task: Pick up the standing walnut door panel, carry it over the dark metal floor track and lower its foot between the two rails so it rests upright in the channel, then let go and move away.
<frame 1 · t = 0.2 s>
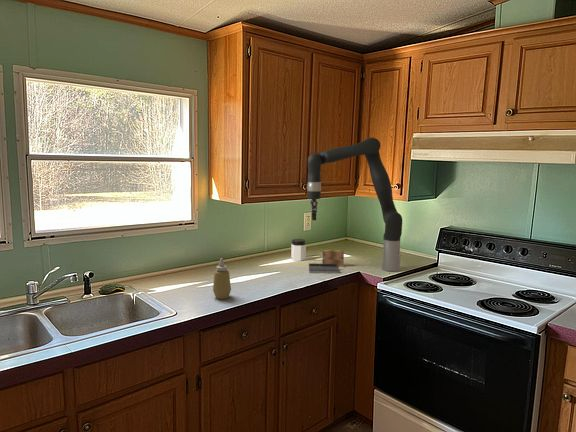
hand: (313, 219, 237), 28 cm above the counter, tool pointing down, fingers open, 8 cm apart
door panel: (332, 265, 247), on the counter
floor track: (323, 270, 236), on the counter
jar: (298, 259, 261), on the counter
squeeze bottle: (222, 297, 192), on the counter
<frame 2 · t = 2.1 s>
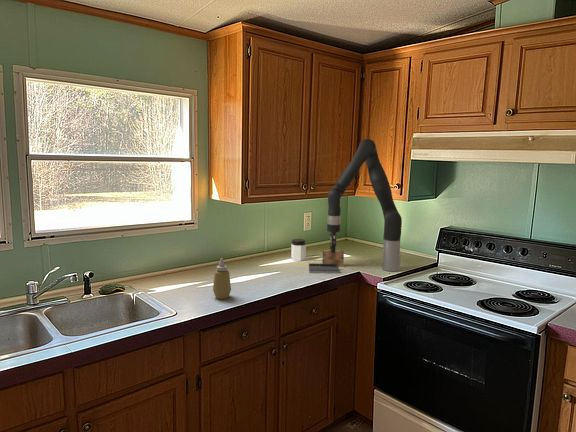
hand: (332, 250, 246), 9 cm above the counter, tool pointing down, fingers open, 8 cm apart
nothing on the counter moved.
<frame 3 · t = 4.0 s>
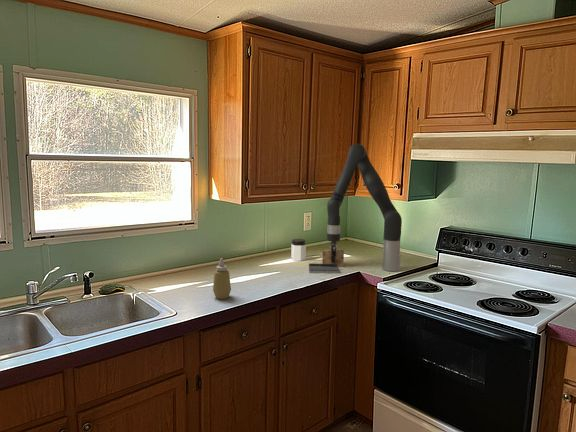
hand: (332, 261, 246), 3 cm above the counter, tool pointing down, fingers closed on door panel, 3 cm apart
door panel: (332, 265, 247), on the counter, touching gripper
everything else where it was.
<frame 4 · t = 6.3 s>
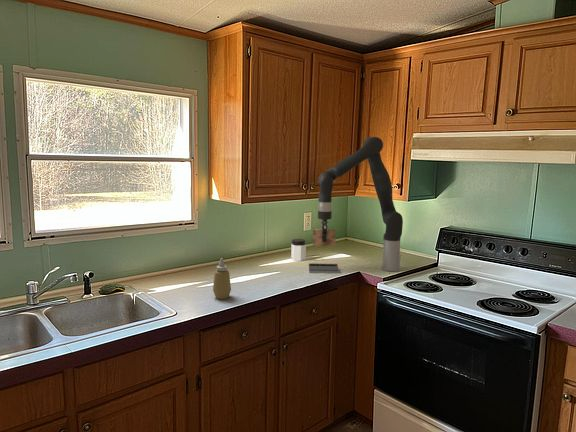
hand: (324, 241, 234), 17 cm above the counter, tool pointing down, fingers closed on door panel, 3 cm apart
door panel: (323, 245, 234), point 14 cm above the counter, touching gripper
everything else where it was.
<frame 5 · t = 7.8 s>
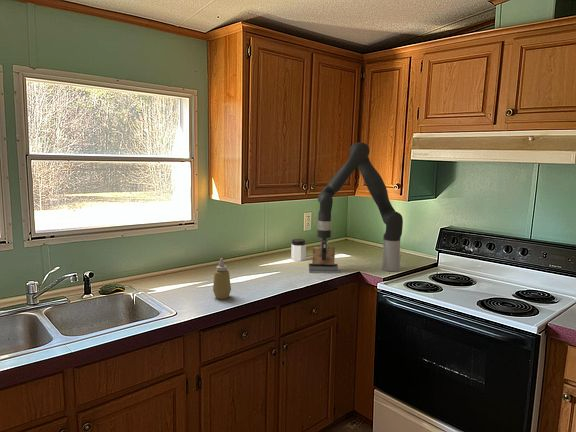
hand: (323, 259, 235), 7 cm above the counter, tool pointing down, fingers closed on door panel, 3 cm apart
door panel: (323, 263, 236), point 4 cm above the counter, touching gripper
everything else where it was.
when the fingers open (5 cm above the counter, at t = 8.8 s): door panel drops 1 cm, resting on floor track.
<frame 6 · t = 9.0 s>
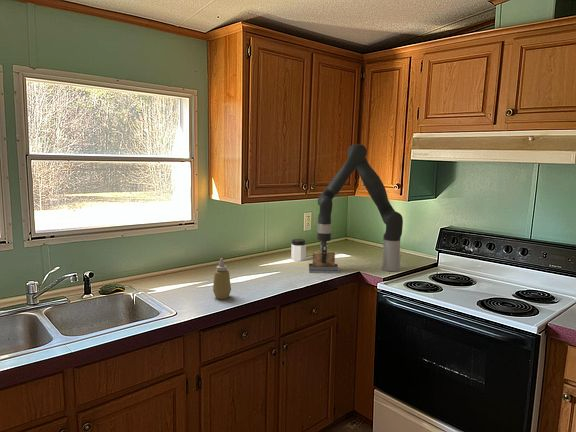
hand: (323, 261, 235), 5 cm above the counter, tool pointing down, fingers open, 4 cm apart
door panel: (323, 268, 236), point 1 cm above the counter, touching floor track
everything else where it was.
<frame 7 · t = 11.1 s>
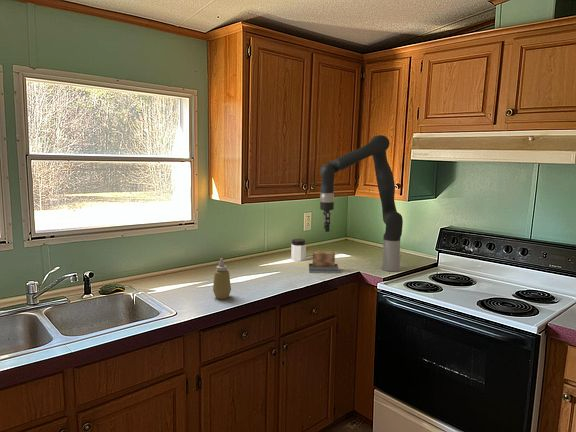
hand: (326, 230, 234), 23 cm above the counter, tool pointing down, fingers open, 8 cm apart
nothing on the counter moved.
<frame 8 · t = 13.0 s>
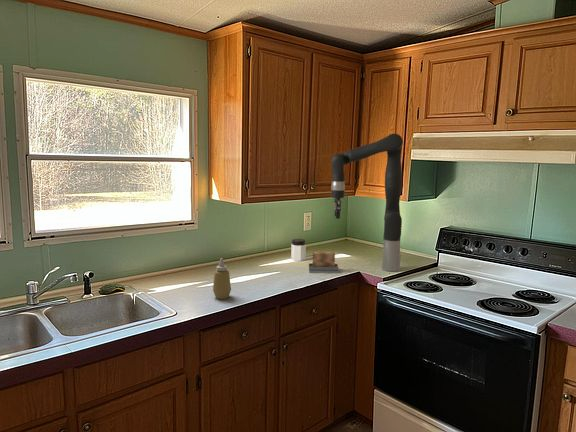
hand: (337, 217, 245), 28 cm above the counter, tool pointing down, fingers open, 8 cm apart
nothing on the counter moved.
at the end: door panel inside the target area on the floor track (0.0 cm from its centre), point 1.2 cm above the floor track's base; door panel tilted 0°; the gripper is holding nothing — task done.
